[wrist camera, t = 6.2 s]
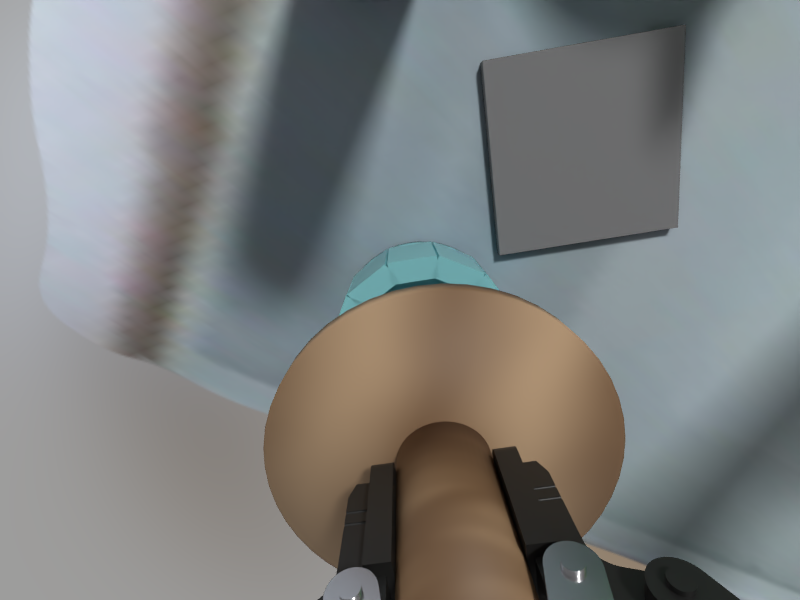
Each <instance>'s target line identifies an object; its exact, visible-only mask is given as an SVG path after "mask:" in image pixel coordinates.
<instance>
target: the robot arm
mask: <svg viewBox="0 0 800 600" xmlns="http://www.w3.org/2000/svg"><path fill="white" fill-rule="evenodd" d="M492 455H493V461H494V464H495V467H496V470H497V473H498V476H499V479H500V482H501V485H502V488H503V491H504V495H505V498H506V501H507V504H508V507H509V510H510V513H511V516H512V519H513V522H514V525H515V528H516V531H517V534H518V537H519V541H520V544H521V547H522V550H523V553H524V556H525V559H526V562H527V565H528V568H529V570H530V573H531V576H532V579H533V582H534V585H535V589H536V592H537V595H538V598H539V600H740V599H739V598H737V597H736V596H735V595H733V594H732V593H731V592H729V591H728V590H727V589H726V588H724V587H723V586H722V585H720V584H719V583H718V582H716V581H715V580H714V579H713V578H711V577H710V576H709V575H707V574H706V573H705V572H704V571H702V570H701V569H699V568H698V567H696V566H695V565H693V564H691V563H689V562H687V561H684V560H681V559H678V558H673V557H660V558H656V559H654V560H652V561H651V562H650V563H648V565H647V566H646V569H645V571H642V570H636V569H630V568H625V567H619V566H616V565H613V564H610V563H608V562H606V561H604V560H602V559H600V558H599V557H598V555H597V554H596V553H595V552H594V551H593V550H591V549H590V548H588V547H587V546H586V545H585V543H584V541H583V540H582V538H581V536H580V534H579V532H578V530H577V528H576V526H575V524H574V522H573V520H572V518H571V515H570V513H569V511H568V509H567V507H566V505H565V503H564V501H563V499H561V495H560V493H559V491H558V489H557V488H556V486H555V483H554V481H553V479H552V477H551V475H550V473H549V471H548V470H546V469H545V468H544V467H543V466H542V465H541V464H539V463H538V462H537V461H530V462H522V459H521V457H520V455H519V452H518V450H517V448H516V446H511V447H504V448H497V449H492ZM395 582H396V468H395V464H394V462H392V463H385V464H377V465H372V466H371V471H370V482H369V483H364V484H357V485H356V486H355V488H354V489H353V491H352V493H351V494H350V496H349V497H348V503H347V509H346V516H345V523H344V529H343V536H342V542H341V549H340V555H339V562H338V569H337V574H336V576H335V577H334V578H333V579H332V580H331V581H330V582H329V584H328V585H327V587H326V589H325V592H324V595H323V596H322V597H321V598H320V599H318V600H395Z"/></svg>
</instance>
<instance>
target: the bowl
mask: <svg viewBox="0 0 800 600" xmlns="http://www.w3.org/2000/svg"><path fill="white" fill-rule="evenodd" d="M441 283H445V284H468V285H474V286H481V287H487V288H492V289H496V290H499V289H498V288H497V287H496V285H495V284H494V283H493V282H492V280H491V279H490V278H489V276H488V275H487V274H486V273H485V271H484V270H483V269H482V268H481V267H480V266H479V264H478V263H477V262H476V261H475V260H474V258H472V257H471V256H469V255H466V254H464V253H462V252H461V251H459V250H457V249H454V248H452V247H450V246H447V245H443V244H440V243H435V242H431V241H430V242H410V243H405V244H401V245H397V246H395V247H392V248H389V249H386V250H385V251H384V252H382V253H380V254H379V255H377V256H376V257H374V258H373V259H372V260H371V261H370V262H368V263H367V264H366V265H365V266H364V267H363V269H362V270H360V271H359V272H358V273H357V274H356V275H355V276H354V278H353V281H352V283H351V285H350V288H349V290H348V293H347V295H346V298H345V300H344V303H343V306H342V309H341V312H340V314H339V316H340V315H341V314H343V313H344V312H346V311H347V310H349V309H351V308H353V307H355V306H357V305H359V304H361V303H363V302H365V301H367V300H369V299H371V298H374V297H377V296H380V295H383V294H385V293H388V292H391V291H395V290H400V289H404V288H409V287H413V286H419V285H430V284H441Z"/></svg>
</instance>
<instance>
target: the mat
mask: <svg viewBox="0 0 800 600" xmlns="http://www.w3.org/2000/svg"><path fill="white" fill-rule="evenodd" d="M685 34H686V25H680V26H675V27H669V28H663V29H658V30H652V31H647V32H641V33H635V34H630V35H624V36H619V37H613V38H607V39H602V40H596V41H591V42H585V43H579V44H574V45H568V46H563V47H557V48H551V49H546V50H540V51H535V52H529V53H523V54H518V55H512V56H507V57H501V58H495V59H490V60H484V61H482V62H481V63H480V64H481V75H482V86H483V97H484V108H485V119H486V130H487V141H488V152H489V163H490V174H491V185H492V196H493V207H494V218H495V229H496V240H497V251H498V254H499V255H505V254H511V253H518V252H524V251H530V250H537V249H543V248H549V247H556V246H562V245H568V244H575V243H581V242H588V241H594V240H600V239H607V238H613V237H619V236H626V235H632V234H638V233H645V232H651V231H658V230H664V229H670V228H677V227H678V210H679V185H680V159H681V134H682V109H683V84H684V59H685Z"/></svg>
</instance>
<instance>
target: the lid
mask: <svg viewBox="0 0 800 600" xmlns="http://www.w3.org/2000/svg"><path fill="white" fill-rule="evenodd" d="M511 446H516V448H517V450H518V452H519V455H520V457H521V459H522V462H530V461H537V462H538V463H539V464H541V465H542V466H543V467H544V468H545V469H546V470H548V471H549V473H550V475H551V477H552V479H553V481H554V483H555V486H556V488H557V489H558V491H559V493H560V495H561V499H563V501H564V503H565V505H566V507H567V509H568V511H569V513H570V515H571V518H572V520H573V522H574V524H575V526H576V528H577V530H578V532H579V534H580V536H581V538H582V537H583V536H584V535H585V534H586V533H587V532H588V531H589V530H590V529H591V527H592V526H593V525H594V523H595V522H596V521H597V519H598V518H599V517H600V515H601V514H602V512H603V511H604V509H605V507H606V505H607V504H608V502H609V500H610V498H611V497H612V494H613V492H614V489H615V487H616V484H617V482H618V479H619V476H620V472H621V467H622V463H623V459H624V448H625V428H624V417H623V413H622V409H621V404H620V400H619V397H618V394H617V392H616V390H615V387H614V385H613V382H612V380H611V378H610V376H609V375H608V373H607V371H606V370H605V368H604V367H603V365H602V363H601V362H600V360H599V359H598V358H597V357H596V355H595V354H594V353H593V352H592V351H591V350H590V348H589V347H588V346H587V345H586V344H585V343H584V342H583V341H582V340H581V339H580V338H579V337H578V336H577V335H576V334H575V333H574V332H573V331H571V330H570V329H569V328H568V327H567V326H566V325H564V324H563V323H562V322H561V321H560V320H559V319H557V318H556V317H555V316H553V315H551V314H550V313H548V312H547V311H545V310H544V309H542V308H540V307H539V306H537V305H535V304H533V303H531V302H529V301H526V300H524V299H522V298H520V297H518V296H515V295H512V294H509V293H506V292H502V291H499V290H496V289H492V288H487V287H481V286H474V285H468V284H445V283H441V284H430V285H419V286H413V287H409V288H404V289H400V290H395V291H391V292H388V293H385V294H383V295H380V296H377V297H374V298H371V299H369V300H367V301H365V302H363V303H361V304H359V305H357V306H355V307H353V308H351V309H349V310H347V311H346V312H344V313H343V314H341V315H340V316H338V317H337V318H336V319H334V320H333V321H331V322H330V323H328V324H327V325H326V326H325V327H324V328H323V329H321V330H320V331H319V332H318V333H317V334H316V335H315V336H314V337H313V338H312V339H311V340H310V341H309V342H308V343H307V344H306V346H305V347H304V348H303V349H302V350H301V352H300V353H299V354H298V355H297V356H296V358H295V360H294V361H293V363H292V365H291V366H290V368H289V370H288V371H287V373H286V374H285V376H284V378H283V380H282V382H281V384H280V385H279V387H278V390H277V392H276V394H275V397H274V399H273V402H272V404H271V406H270V410H269V414H268V418H267V422H266V426H265V436H264V461H265V470H266V474H267V479H268V483H269V487H270V489H271V492H272V495H273V497H274V500H275V502H276V505H277V506H278V508H279V510H280V512H281V513H282V515H283V517H284V519H285V520H286V522H287V523H288V525H289V526H290V527H291V528H292V530H293V531H294V532H295V534H296V535H297V536H298V537H299V538H300V539H301V540H302V541H303V542H304V543H305V544H306V545H307V546H308V547H309V548H310V549H311V550H312V551H313V552H314V553H316V554H317V555H318V556H319V557H321V558H322V559H323V560H325V561H326V562H327V563H329V564H330V565H332V566H334V567H335V568H337V569H338V562H339V555H340V549H341V542H342V536H343V529H344V523H345V516H346V509H347V503H348V497H349V496H350V494H351V493H352V491H353V489H354V488H355V486H356V485H357V484H364V483H369V482H370V471H371V466H372V465H377V464H385V463H392V462H394V464H395V468H396V582H395V600H539V598H538V595H537V592H536V589H535V585H534V582H533V579H532V576H531V573H530V570H529V568H528V565H527V562H526V559H525V556H524V553H523V550H522V547H521V544H520V541H519V537H518V534H517V531H516V528H515V525H514V522H513V519H512V516H511V513H510V510H509V507H508V504H507V501H506V498H505V495H504V491H503V488H502V485H501V482H500V479H499V476H498V473H497V470H496V467H495V464H494V461H493V455H492V449H497V448H504V447H511Z"/></svg>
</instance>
